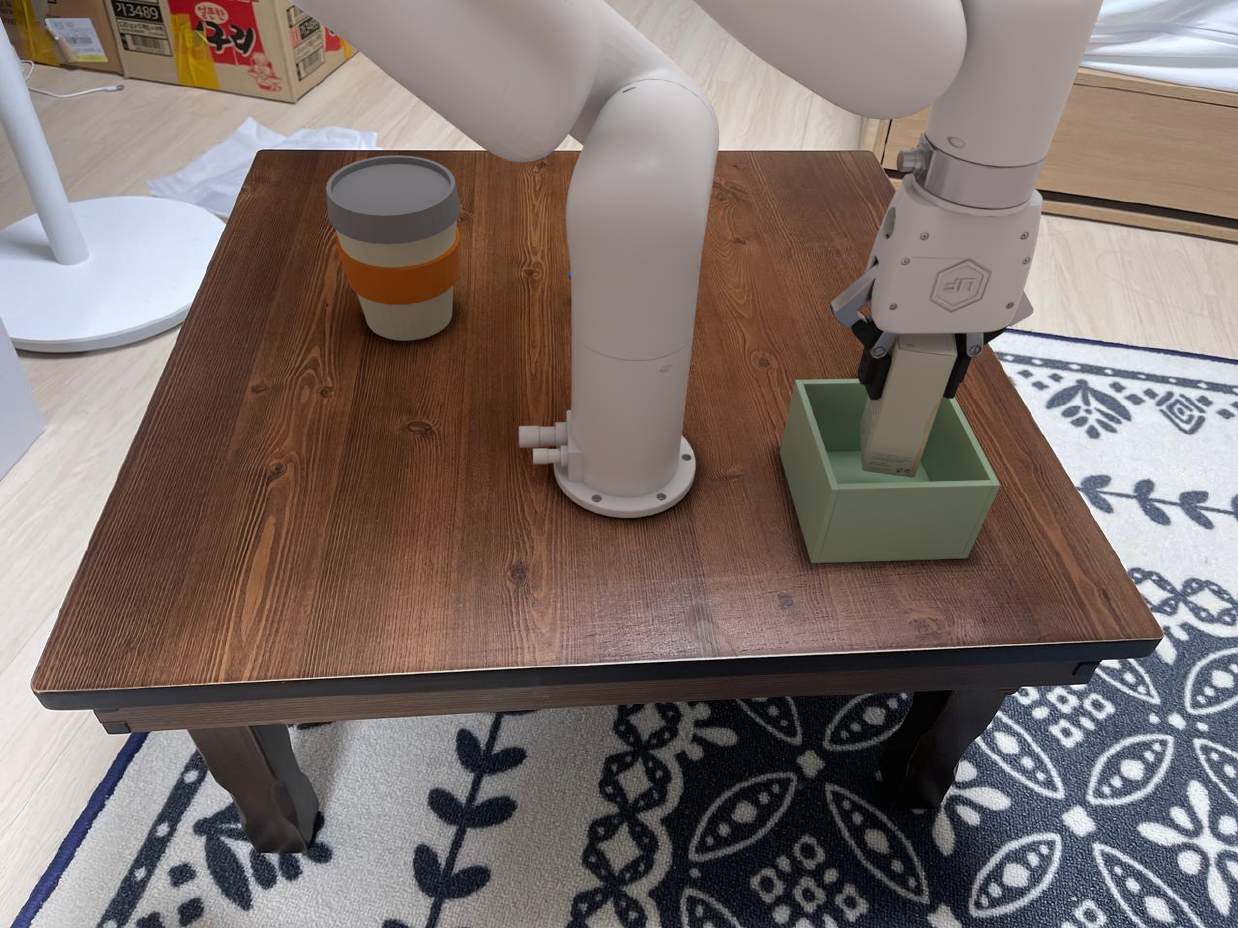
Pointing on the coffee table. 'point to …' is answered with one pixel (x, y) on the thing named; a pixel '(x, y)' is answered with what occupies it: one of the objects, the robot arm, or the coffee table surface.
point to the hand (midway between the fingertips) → (906, 386)
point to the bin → (881, 482)
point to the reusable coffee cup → (398, 241)
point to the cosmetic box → (906, 403)
